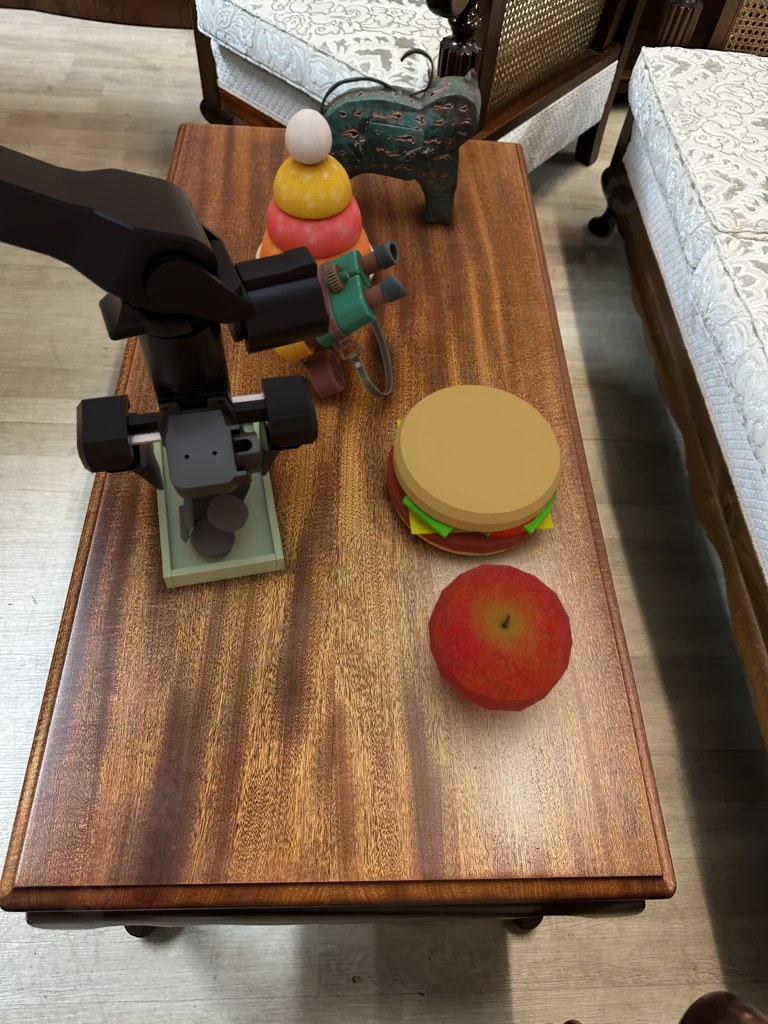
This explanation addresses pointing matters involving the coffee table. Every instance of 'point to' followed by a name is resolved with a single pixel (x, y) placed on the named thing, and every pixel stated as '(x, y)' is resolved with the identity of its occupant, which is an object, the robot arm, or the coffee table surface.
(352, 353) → the binoculars
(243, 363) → the coffee table surface
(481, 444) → the hamburger
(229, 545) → the character figurine
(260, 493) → the tray
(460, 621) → the apple
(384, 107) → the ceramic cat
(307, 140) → the stacking toy
